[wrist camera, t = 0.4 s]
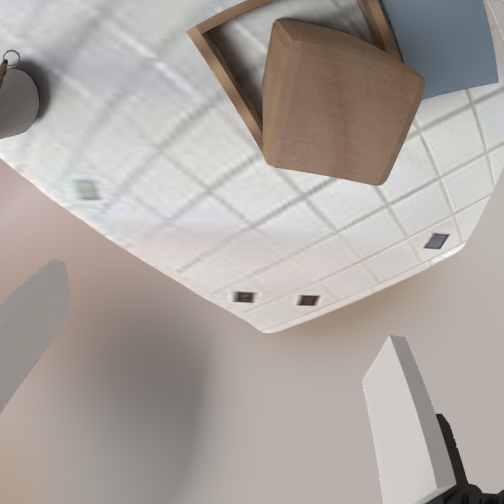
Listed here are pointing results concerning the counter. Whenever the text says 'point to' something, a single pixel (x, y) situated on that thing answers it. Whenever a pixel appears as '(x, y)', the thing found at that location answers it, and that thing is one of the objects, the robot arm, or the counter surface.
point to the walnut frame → (230, 81)
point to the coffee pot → (16, 100)
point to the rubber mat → (444, 42)
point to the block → (335, 103)
